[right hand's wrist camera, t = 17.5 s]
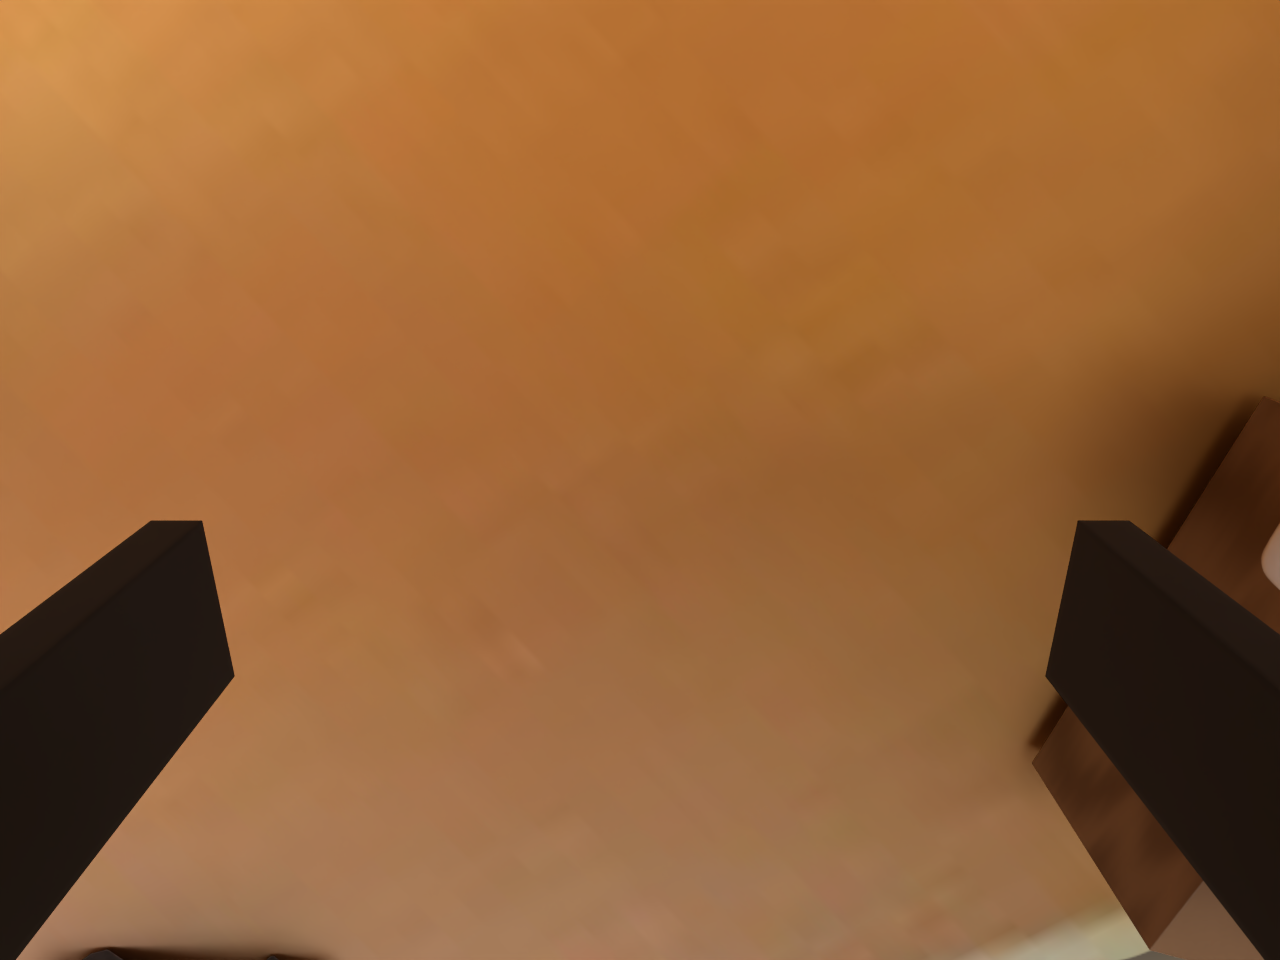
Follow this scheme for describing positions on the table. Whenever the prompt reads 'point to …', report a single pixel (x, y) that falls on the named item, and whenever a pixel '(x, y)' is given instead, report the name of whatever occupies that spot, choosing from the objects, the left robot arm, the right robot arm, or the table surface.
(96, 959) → the tool
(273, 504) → the table surface
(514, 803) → the table surface
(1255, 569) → the box
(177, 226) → the table surface
